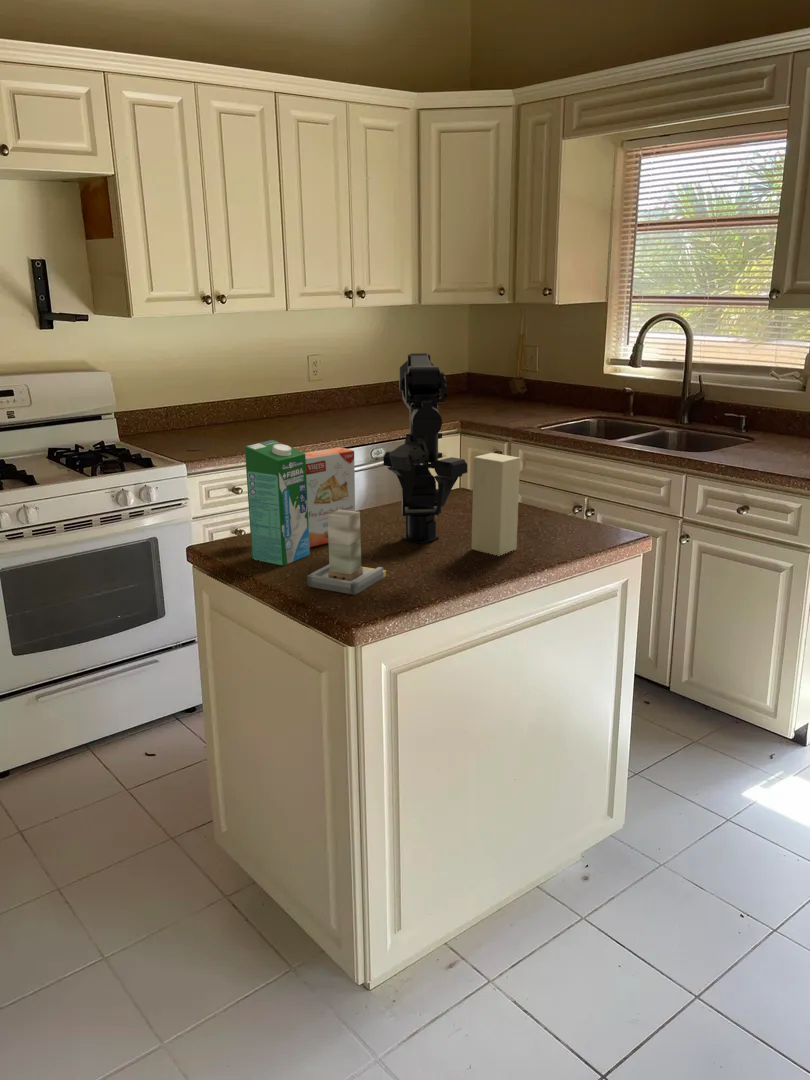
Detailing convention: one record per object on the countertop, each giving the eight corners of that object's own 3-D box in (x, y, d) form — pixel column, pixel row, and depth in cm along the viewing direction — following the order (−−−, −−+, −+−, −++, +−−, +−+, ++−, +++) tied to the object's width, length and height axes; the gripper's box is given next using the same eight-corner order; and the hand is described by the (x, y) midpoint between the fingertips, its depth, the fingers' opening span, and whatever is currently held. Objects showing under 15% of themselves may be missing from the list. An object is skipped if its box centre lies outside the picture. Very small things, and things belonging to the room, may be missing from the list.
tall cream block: (519, 549, 191) (522, 456, 185) (499, 556, 186) (501, 461, 180) (491, 542, 196) (492, 451, 190) (471, 549, 191) (472, 456, 185)
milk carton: (283, 566, 182) (277, 449, 174) (251, 559, 186) (244, 445, 179) (310, 554, 189) (305, 442, 182) (278, 548, 194) (272, 438, 186)
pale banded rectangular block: (341, 570, 174) (339, 509, 171) (362, 574, 172) (361, 511, 168) (328, 578, 170) (326, 515, 166) (350, 581, 168) (348, 517, 164)
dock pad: (340, 568, 180) (339, 558, 179) (386, 576, 175) (385, 565, 174) (307, 586, 169) (307, 575, 169) (355, 594, 164) (355, 584, 164)
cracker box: (308, 549, 193) (304, 457, 187) (293, 543, 197) (288, 454, 191) (357, 537, 202) (355, 449, 196) (342, 531, 206) (339, 445, 200)
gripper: (363, 429, 175) (365, 503, 180) (432, 439, 163) (433, 518, 168) (401, 422, 183) (401, 493, 188) (469, 431, 171) (468, 507, 176)
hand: (424, 503), depth 179 cm, fingers open, 9 cm apart
